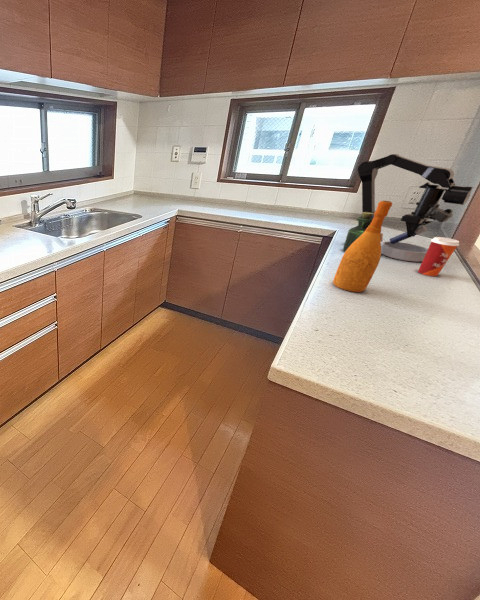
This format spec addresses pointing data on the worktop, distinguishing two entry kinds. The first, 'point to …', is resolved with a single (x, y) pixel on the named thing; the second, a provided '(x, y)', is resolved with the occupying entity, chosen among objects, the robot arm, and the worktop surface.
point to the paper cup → (437, 255)
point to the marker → (404, 235)
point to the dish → (403, 251)
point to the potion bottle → (357, 229)
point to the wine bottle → (362, 254)
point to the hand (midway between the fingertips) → (410, 236)
